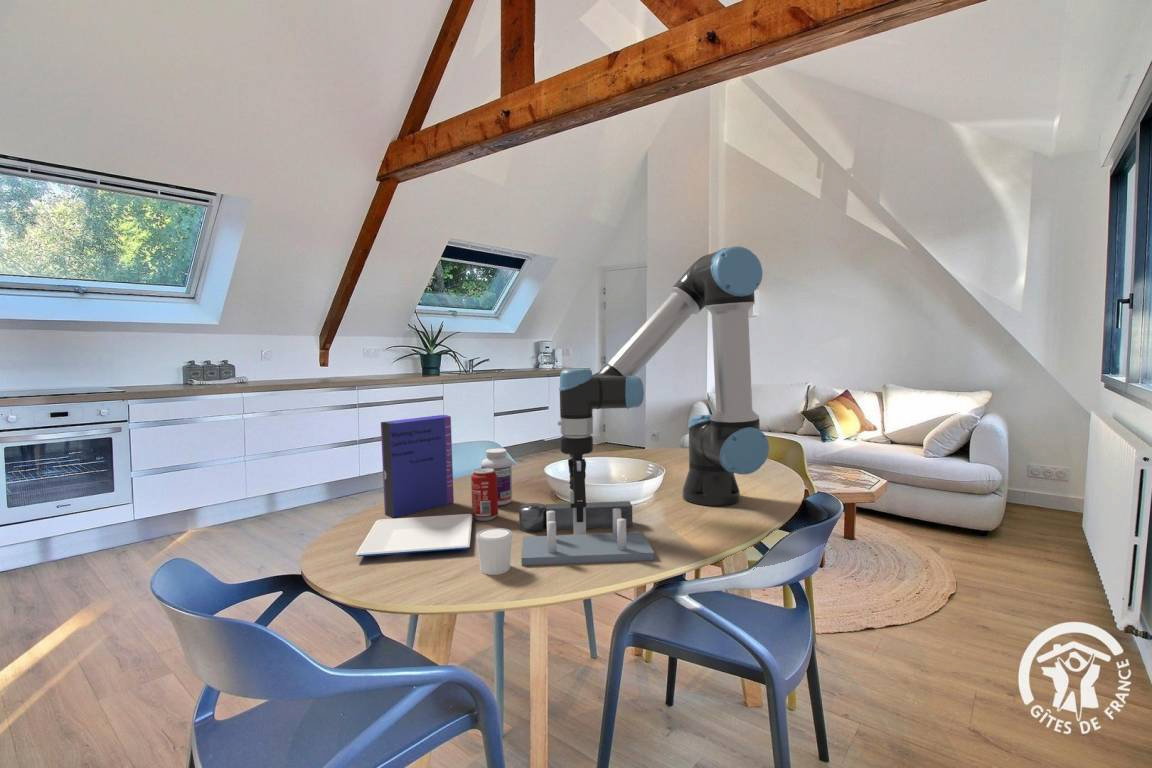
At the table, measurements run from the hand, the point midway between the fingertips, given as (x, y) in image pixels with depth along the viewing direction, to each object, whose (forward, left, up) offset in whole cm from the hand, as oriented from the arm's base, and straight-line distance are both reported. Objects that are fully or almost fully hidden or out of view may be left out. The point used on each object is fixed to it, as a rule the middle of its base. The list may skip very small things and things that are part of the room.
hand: (577, 525), depth 131 cm
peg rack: (-1, +16, 0) cm, 16 cm away
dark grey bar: (0, 0, 0) cm, 1 cm away
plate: (+35, +5, -1) cm, 36 cm away
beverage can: (+22, -9, 0) cm, 24 cm away
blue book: (+40, -19, 0) cm, 45 cm away
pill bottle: (+20, -22, 0) cm, 30 cm away
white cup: (+17, +23, 0) cm, 29 cm away
